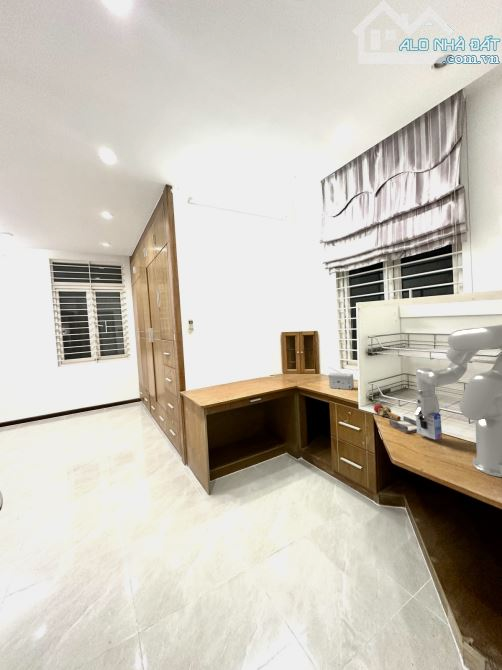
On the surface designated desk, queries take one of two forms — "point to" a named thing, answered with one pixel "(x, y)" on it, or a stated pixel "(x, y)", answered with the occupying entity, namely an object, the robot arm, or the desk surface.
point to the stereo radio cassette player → (341, 380)
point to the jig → (404, 425)
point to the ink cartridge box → (431, 426)
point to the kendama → (385, 411)
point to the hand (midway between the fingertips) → (428, 426)
